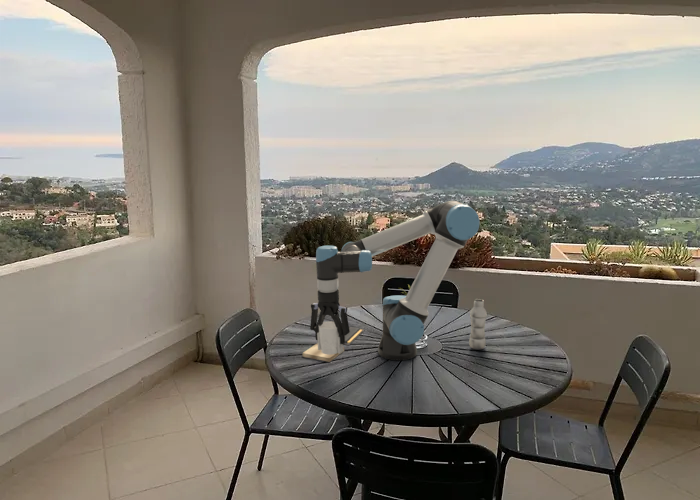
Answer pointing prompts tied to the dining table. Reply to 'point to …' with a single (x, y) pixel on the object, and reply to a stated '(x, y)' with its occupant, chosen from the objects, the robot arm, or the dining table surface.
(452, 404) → the dining table surface
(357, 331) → the black book
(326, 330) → the white cup
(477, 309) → the plastic bottle
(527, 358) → the dining table surface
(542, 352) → the dining table surface
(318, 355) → the oak coaster board
